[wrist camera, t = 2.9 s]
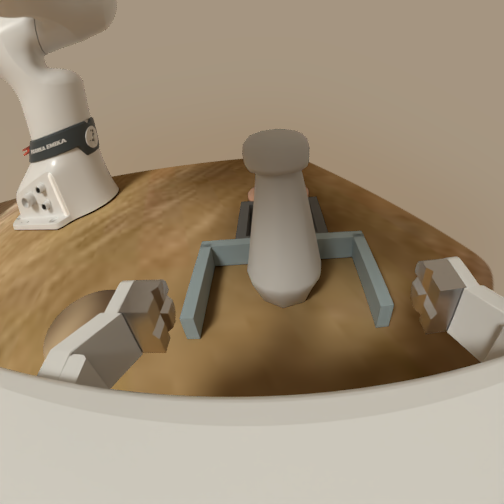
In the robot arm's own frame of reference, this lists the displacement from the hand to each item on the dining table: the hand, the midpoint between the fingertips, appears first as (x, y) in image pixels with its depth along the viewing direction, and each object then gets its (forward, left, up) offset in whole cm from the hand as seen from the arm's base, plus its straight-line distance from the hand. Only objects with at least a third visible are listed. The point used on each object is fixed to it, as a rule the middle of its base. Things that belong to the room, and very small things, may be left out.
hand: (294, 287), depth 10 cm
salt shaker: (0, +13, -11) cm, 17 cm away
